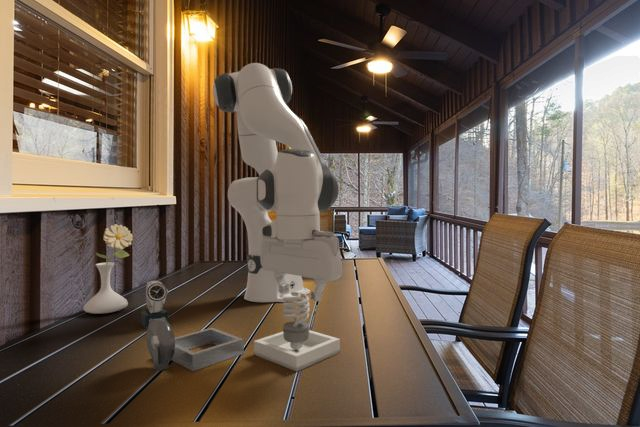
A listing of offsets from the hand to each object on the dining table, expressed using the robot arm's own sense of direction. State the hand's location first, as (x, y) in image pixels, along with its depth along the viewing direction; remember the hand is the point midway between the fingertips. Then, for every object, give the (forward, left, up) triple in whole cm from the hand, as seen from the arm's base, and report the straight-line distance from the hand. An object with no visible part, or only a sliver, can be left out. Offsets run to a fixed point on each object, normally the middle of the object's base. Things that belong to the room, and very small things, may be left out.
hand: (299, 296), depth 83 cm
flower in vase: (+14, -64, -12) cm, 66 cm away
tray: (+1, 0, -12) cm, 12 cm away
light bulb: (+1, 0, -11) cm, 11 cm away
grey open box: (+16, -14, -12) cm, 24 cm away
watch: (+11, -42, -12) cm, 45 cm away
